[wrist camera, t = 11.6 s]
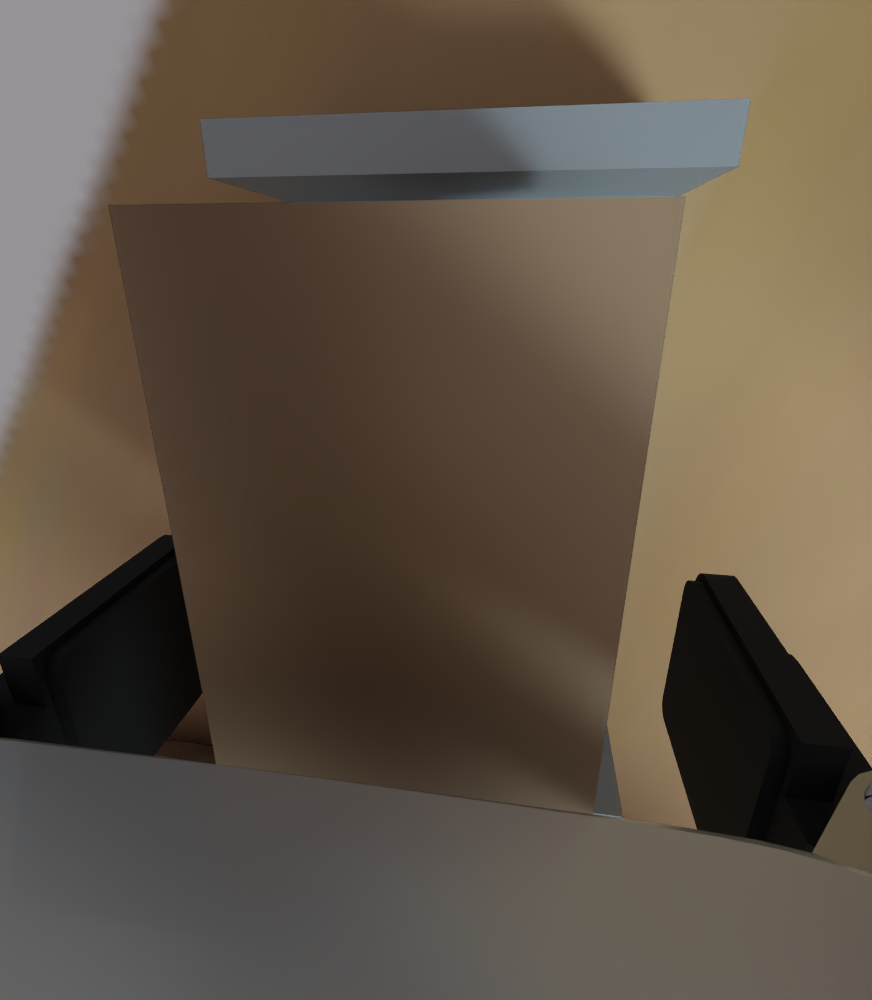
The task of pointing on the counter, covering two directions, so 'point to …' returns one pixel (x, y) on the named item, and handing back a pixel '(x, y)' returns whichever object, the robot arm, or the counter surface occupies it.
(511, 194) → the peg frame
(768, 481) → the counter surface
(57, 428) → the counter surface
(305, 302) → the brown wooden block
